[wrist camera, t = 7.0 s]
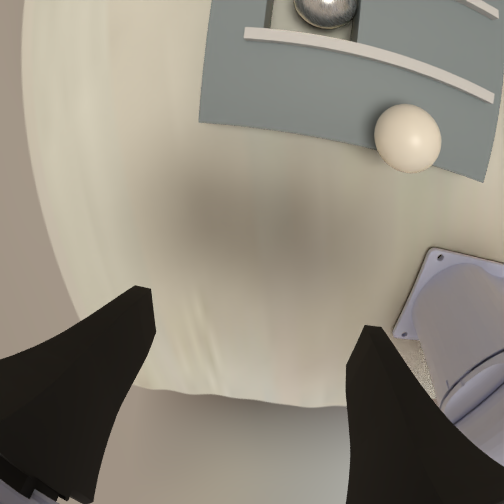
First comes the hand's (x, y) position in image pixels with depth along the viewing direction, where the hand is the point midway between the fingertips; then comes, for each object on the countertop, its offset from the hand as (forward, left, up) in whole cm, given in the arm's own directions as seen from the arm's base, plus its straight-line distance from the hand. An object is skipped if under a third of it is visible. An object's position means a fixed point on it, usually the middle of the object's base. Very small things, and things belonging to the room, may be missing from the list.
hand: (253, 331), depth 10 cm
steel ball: (-1, -13, -9) cm, 16 cm away
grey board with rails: (-3, -13, -10) cm, 17 cm away
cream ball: (-5, -6, -6) cm, 11 cm away
